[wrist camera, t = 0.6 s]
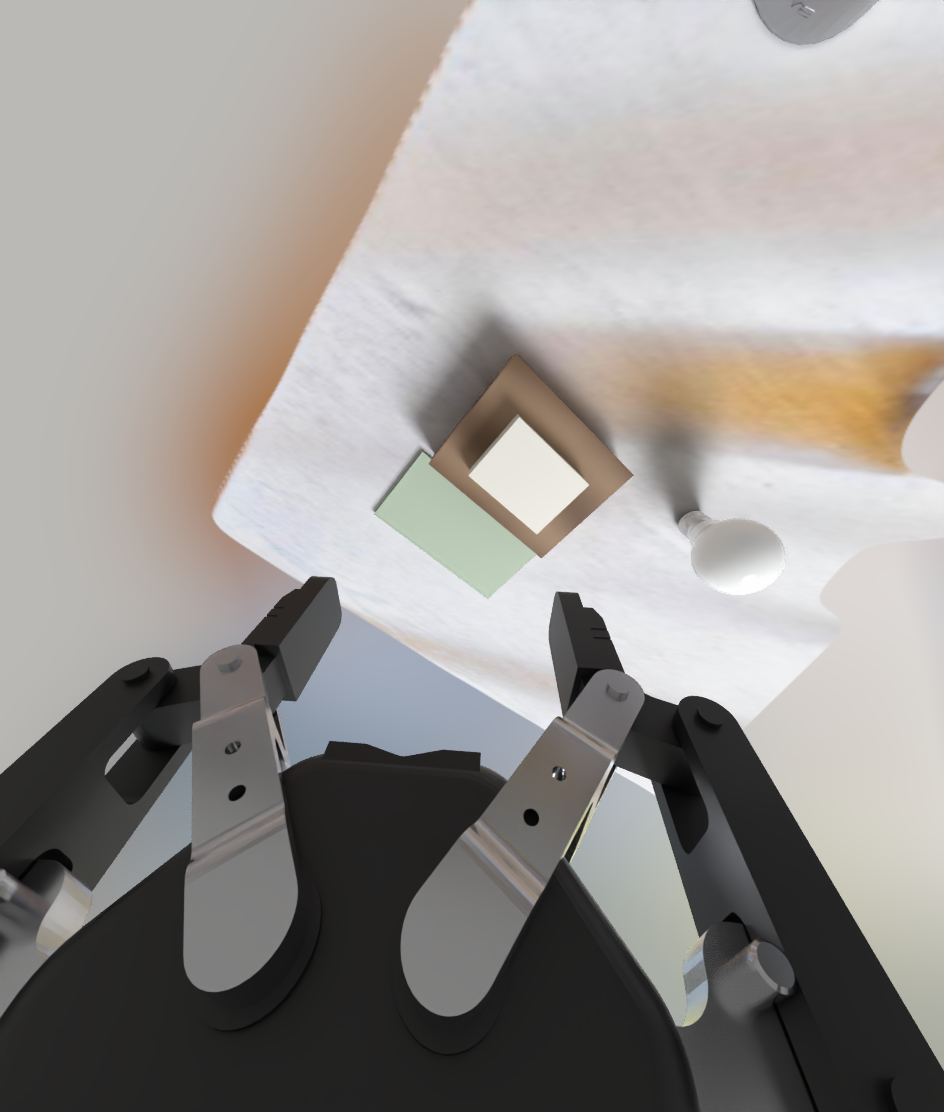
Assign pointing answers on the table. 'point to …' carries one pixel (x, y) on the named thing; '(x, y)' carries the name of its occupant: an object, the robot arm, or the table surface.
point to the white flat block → (527, 475)
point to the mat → (453, 529)
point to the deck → (555, 425)
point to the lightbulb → (733, 553)
